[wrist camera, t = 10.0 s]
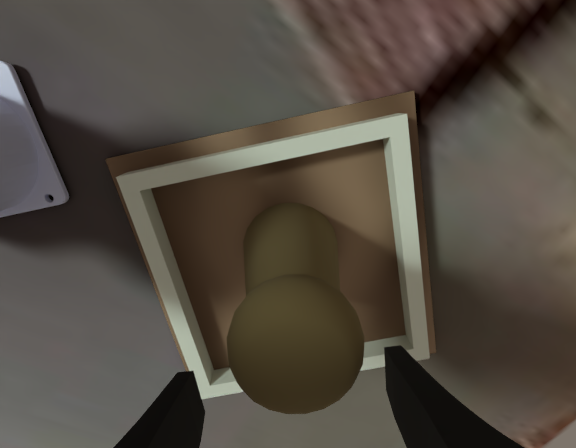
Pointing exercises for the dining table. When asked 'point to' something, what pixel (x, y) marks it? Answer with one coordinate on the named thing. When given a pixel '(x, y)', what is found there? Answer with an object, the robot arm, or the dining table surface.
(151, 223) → the walled square frame
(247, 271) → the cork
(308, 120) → the board
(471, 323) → the dining table surface
